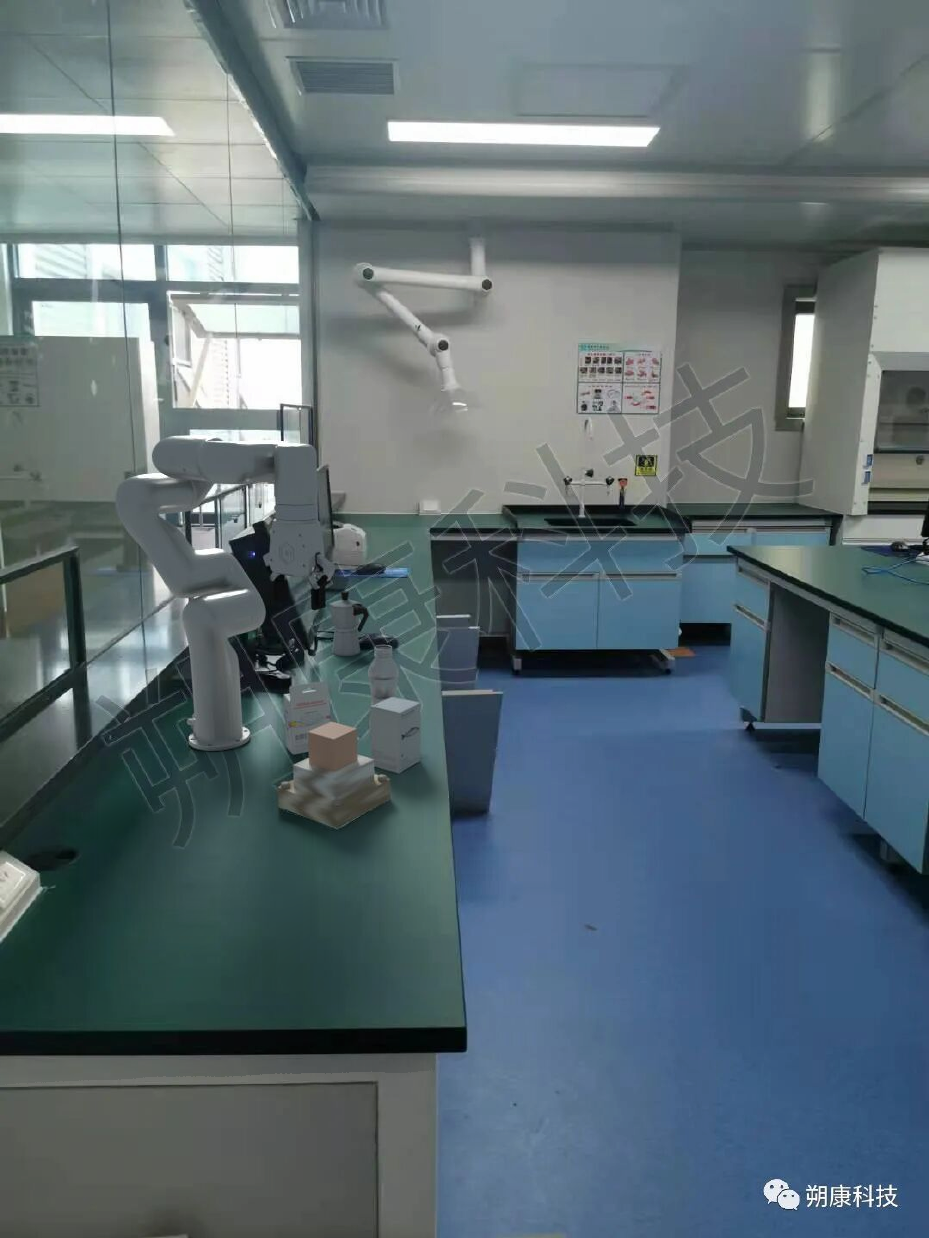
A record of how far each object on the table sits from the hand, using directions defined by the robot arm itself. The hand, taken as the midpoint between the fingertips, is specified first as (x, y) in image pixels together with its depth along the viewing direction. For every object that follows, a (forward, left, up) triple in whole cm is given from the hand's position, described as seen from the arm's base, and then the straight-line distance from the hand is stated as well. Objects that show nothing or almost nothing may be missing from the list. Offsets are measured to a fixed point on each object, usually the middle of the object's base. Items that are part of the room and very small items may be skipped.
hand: (299, 604), depth 156 cm
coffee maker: (-47, +66, -33) cm, 88 cm away
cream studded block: (+15, -8, -33) cm, 37 cm away
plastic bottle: (+2, +22, -33) cm, 40 cm away
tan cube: (+15, -8, -25) cm, 30 cm away
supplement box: (+13, +12, -33) cm, 38 cm away
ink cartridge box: (-7, +8, -33) cm, 35 cm away
